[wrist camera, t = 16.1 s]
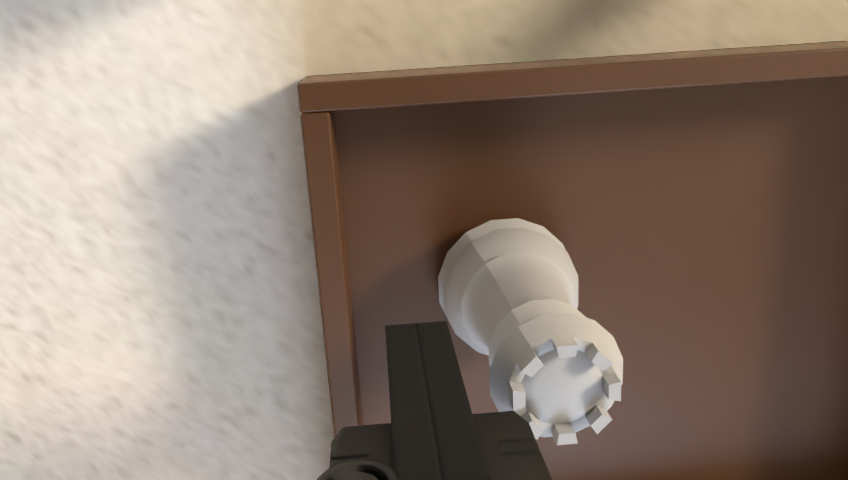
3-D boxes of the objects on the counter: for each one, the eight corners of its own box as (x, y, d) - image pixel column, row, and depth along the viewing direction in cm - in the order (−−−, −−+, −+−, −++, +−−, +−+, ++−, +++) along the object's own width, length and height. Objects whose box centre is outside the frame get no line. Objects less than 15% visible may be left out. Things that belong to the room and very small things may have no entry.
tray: (305, 75, 23) (296, 83, 20) (918, 36, 24) (996, 37, 21) (354, 556, 28) (353, 620, 25) (859, 504, 29) (916, 560, 26)
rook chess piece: (408, 268, 24) (429, 383, 16) (520, 186, 23) (596, 263, 16) (487, 366, 25) (541, 516, 18) (595, 289, 25) (699, 408, 17)
